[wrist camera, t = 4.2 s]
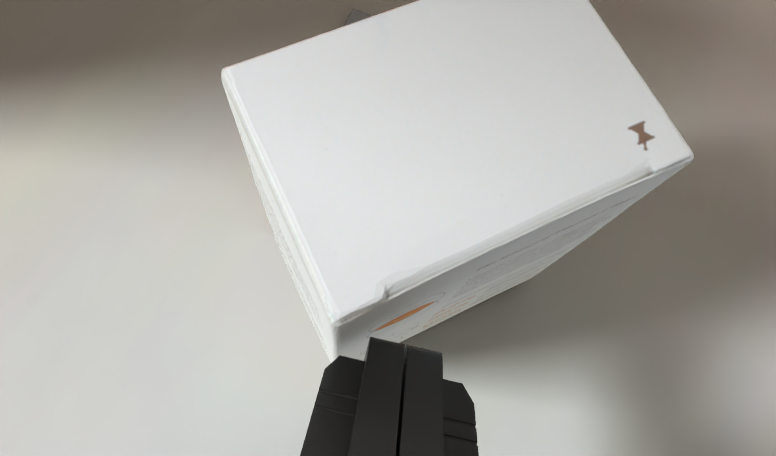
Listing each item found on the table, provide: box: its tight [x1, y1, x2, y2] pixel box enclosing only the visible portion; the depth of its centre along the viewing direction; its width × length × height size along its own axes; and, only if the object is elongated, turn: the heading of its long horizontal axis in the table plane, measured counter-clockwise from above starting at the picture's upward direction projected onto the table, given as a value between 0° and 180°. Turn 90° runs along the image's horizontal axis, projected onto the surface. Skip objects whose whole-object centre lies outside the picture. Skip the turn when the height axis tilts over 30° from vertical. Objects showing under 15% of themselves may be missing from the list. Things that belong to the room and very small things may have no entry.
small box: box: [221, 0, 694, 363], centre depth 16 cm, size 8×6×10 cm
